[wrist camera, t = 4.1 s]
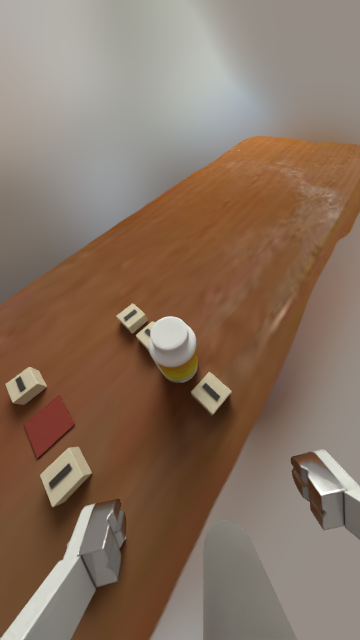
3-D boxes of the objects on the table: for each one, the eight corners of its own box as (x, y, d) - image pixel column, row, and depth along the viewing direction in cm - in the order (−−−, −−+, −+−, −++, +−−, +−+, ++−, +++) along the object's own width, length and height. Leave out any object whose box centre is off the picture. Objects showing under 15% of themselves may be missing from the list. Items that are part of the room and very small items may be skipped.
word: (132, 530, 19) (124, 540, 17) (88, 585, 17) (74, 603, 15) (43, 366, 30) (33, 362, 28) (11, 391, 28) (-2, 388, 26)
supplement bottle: (206, 367, 27) (207, 334, 18) (175, 392, 25) (161, 370, 17) (182, 340, 29) (174, 301, 21) (154, 362, 28) (132, 329, 19)
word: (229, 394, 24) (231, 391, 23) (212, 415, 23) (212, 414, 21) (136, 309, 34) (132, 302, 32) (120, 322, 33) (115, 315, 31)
